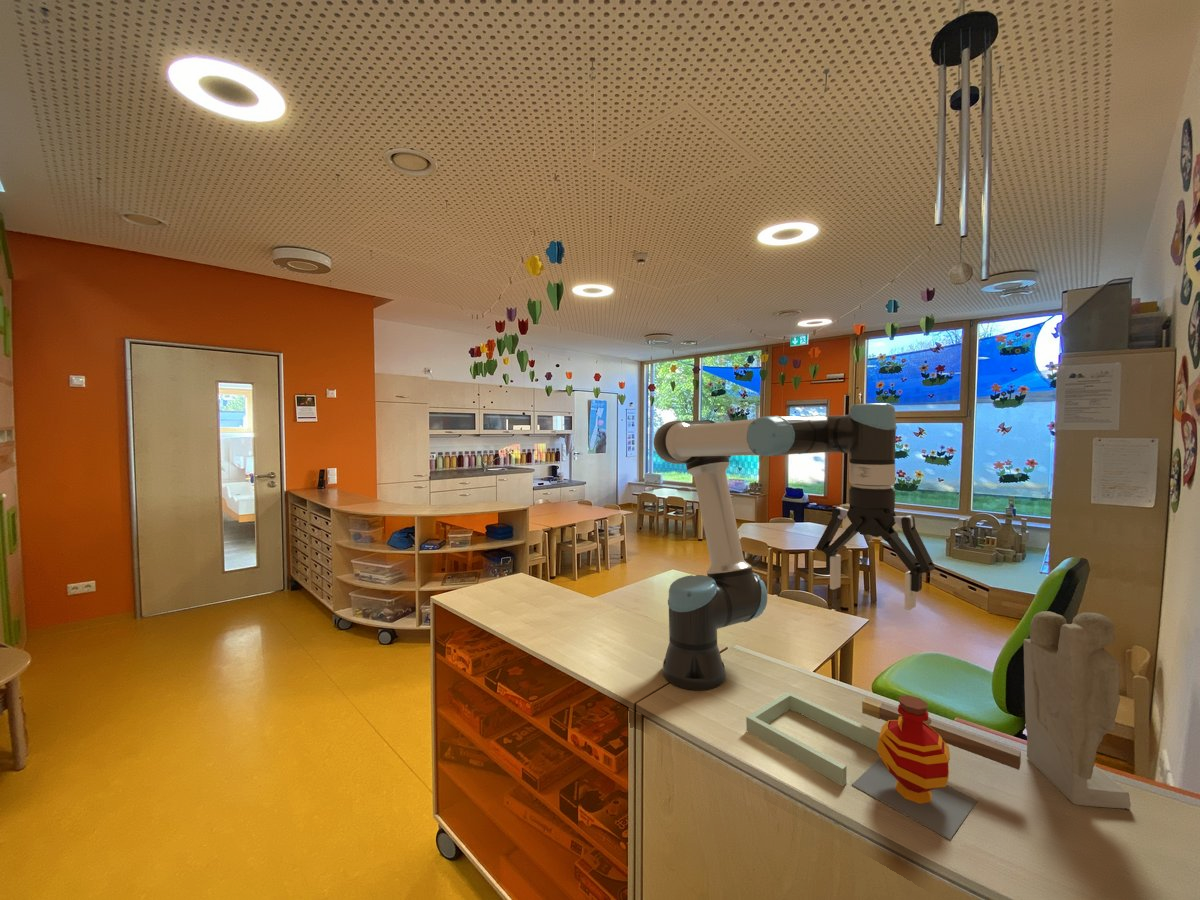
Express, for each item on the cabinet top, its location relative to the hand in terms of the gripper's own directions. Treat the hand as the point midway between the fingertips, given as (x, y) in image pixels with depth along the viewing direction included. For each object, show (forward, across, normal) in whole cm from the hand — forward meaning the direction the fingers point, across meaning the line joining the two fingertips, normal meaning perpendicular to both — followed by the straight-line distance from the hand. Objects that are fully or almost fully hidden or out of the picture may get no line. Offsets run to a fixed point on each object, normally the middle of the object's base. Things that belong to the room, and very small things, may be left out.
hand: (870, 597), depth 91 cm
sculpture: (+28, +26, +14) cm, 41 cm away
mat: (+28, +11, -8) cm, 31 cm away
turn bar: (+23, +10, +2) cm, 25 cm away
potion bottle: (+28, +11, -8) cm, 31 cm away
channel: (+28, -6, -9) cm, 30 cm away
